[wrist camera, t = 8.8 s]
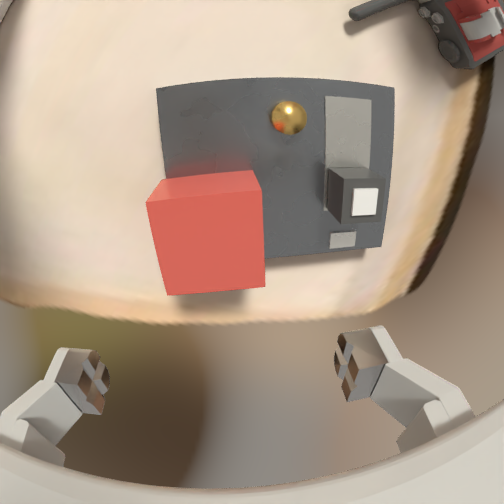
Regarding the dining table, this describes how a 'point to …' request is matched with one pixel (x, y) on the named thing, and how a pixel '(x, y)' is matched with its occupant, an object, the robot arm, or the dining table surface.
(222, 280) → the cap
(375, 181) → the block
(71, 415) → the robot arm
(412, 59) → the dining table surface
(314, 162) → the panel
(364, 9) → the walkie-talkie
